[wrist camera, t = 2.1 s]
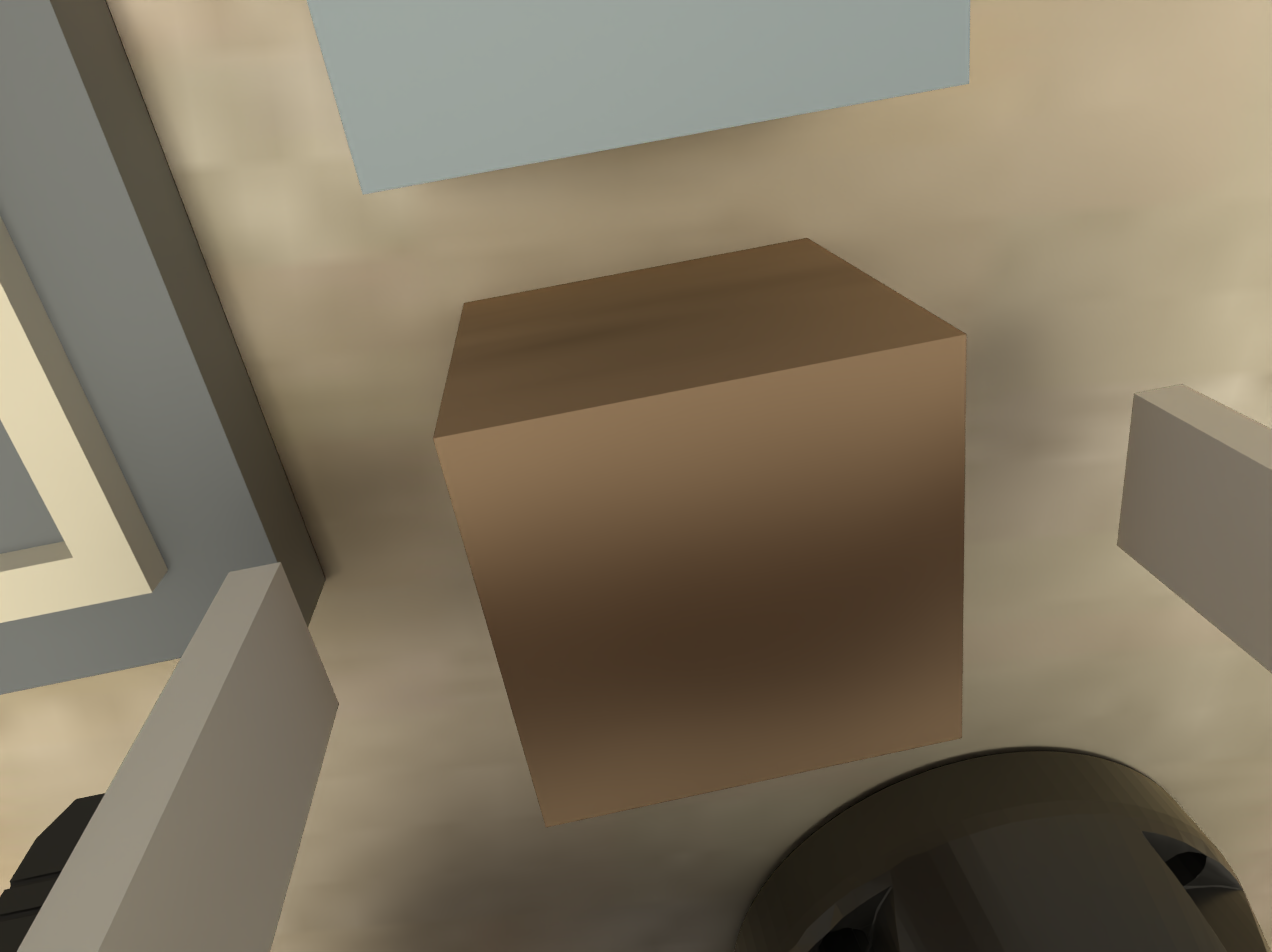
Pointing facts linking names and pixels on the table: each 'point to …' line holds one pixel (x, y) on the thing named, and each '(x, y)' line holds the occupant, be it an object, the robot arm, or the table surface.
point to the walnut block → (712, 521)
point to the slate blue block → (608, 72)
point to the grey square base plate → (114, 377)
